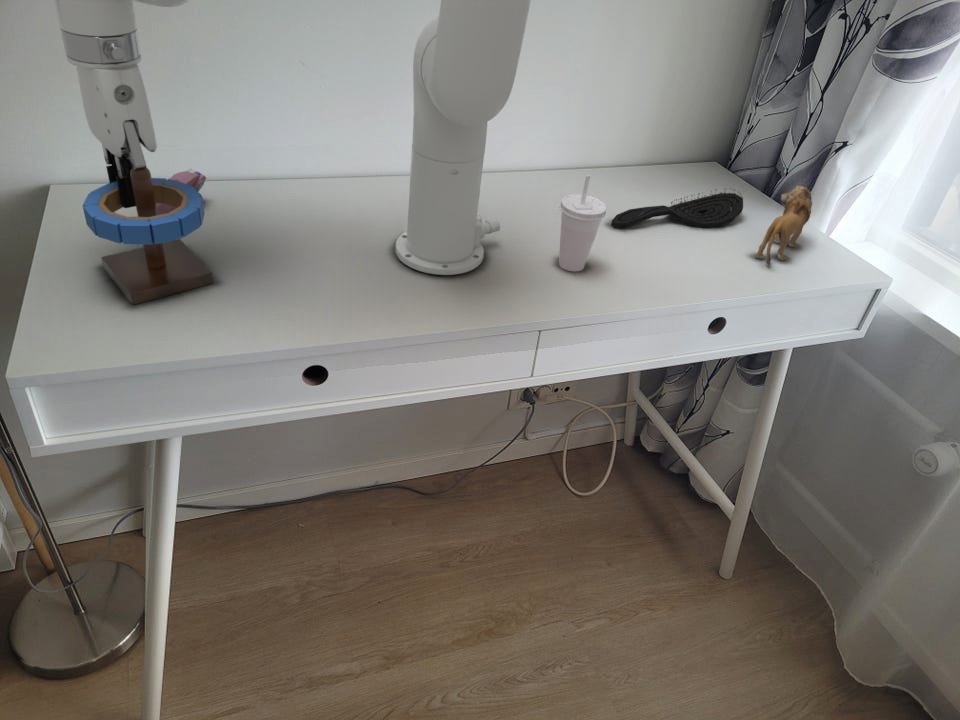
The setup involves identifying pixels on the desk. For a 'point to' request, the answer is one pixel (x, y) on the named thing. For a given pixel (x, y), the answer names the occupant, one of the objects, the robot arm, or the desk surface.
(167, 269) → the stand
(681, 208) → the hairbrush
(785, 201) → the lion figurine
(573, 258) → the smoothie
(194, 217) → the tape roll
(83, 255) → the desk surface
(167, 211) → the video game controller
